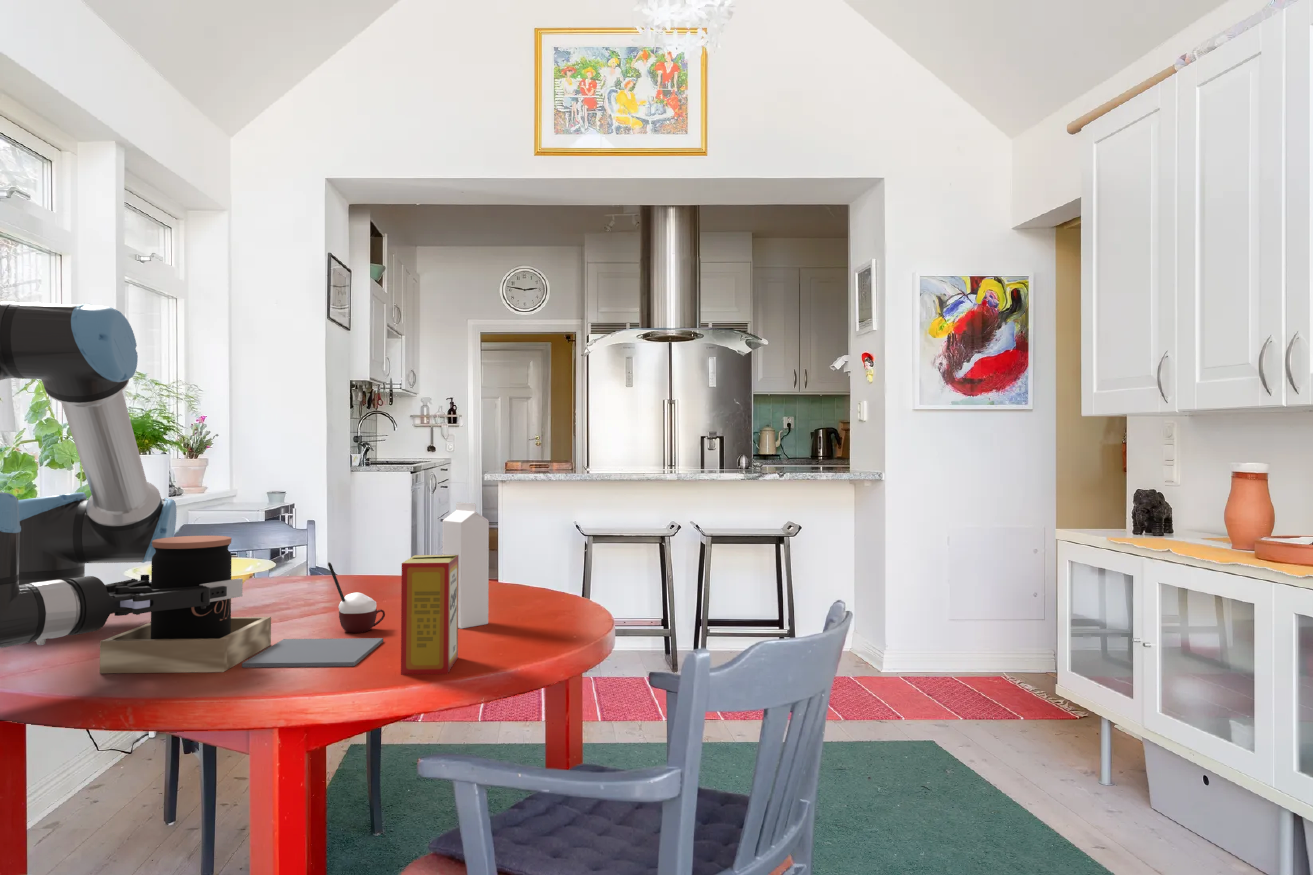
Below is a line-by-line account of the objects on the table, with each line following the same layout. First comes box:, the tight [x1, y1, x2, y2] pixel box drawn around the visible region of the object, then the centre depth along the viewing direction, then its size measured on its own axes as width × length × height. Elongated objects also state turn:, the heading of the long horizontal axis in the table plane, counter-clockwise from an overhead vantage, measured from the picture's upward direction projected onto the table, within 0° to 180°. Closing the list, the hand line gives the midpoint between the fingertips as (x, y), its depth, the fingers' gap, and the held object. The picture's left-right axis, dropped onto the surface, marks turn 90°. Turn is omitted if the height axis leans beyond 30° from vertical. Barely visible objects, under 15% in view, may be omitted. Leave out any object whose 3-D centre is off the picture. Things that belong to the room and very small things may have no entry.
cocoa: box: [327, 561, 386, 634], centre depth 150 cm, size 10×6×12 cm, turn 94°
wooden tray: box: [99, 616, 272, 674], centre depth 130 cm, size 17×17×4 cm
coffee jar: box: [150, 535, 233, 639], centre depth 130 cm, size 11×11×18 cm
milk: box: [442, 501, 490, 629], centre depth 156 cm, size 6×6×22 cm
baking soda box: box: [400, 554, 459, 676], centre depth 126 cm, size 10×6×16 cm
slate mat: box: [241, 637, 384, 668], centre depth 133 cm, size 16×16×1 cm
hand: (216, 584), depth 134 cm, fingers closed on coffee jar, 11 cm apart
